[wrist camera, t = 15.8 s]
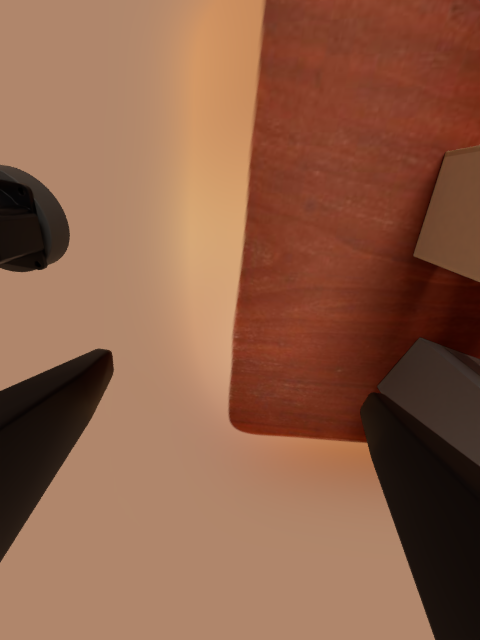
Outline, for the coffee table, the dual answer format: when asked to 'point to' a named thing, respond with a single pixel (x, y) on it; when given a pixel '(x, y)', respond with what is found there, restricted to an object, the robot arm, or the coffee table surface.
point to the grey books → (439, 393)
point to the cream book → (454, 216)
